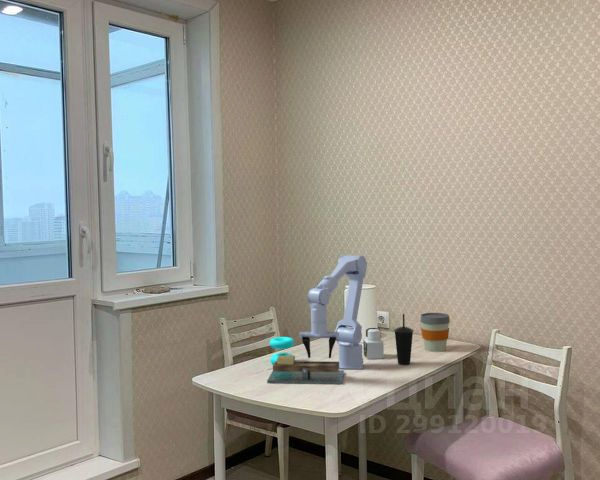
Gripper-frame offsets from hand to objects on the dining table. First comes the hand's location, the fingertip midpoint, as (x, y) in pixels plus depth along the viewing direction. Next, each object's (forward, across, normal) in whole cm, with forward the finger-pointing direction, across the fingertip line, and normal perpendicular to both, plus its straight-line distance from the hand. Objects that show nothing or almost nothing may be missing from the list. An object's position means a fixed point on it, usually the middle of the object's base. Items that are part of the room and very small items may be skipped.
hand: (319, 357), depth 209 cm
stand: (+8, -5, 0) cm, 9 cm away
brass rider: (+3, -13, 0) cm, 13 cm away
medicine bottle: (+8, +20, +31) cm, 38 cm away
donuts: (+8, -17, +20) cm, 27 cm away
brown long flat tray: (+4, -5, 0) cm, 6 cm away
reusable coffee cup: (+8, +47, +45) cm, 65 cm away
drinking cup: (+8, +32, +21) cm, 39 cm away
